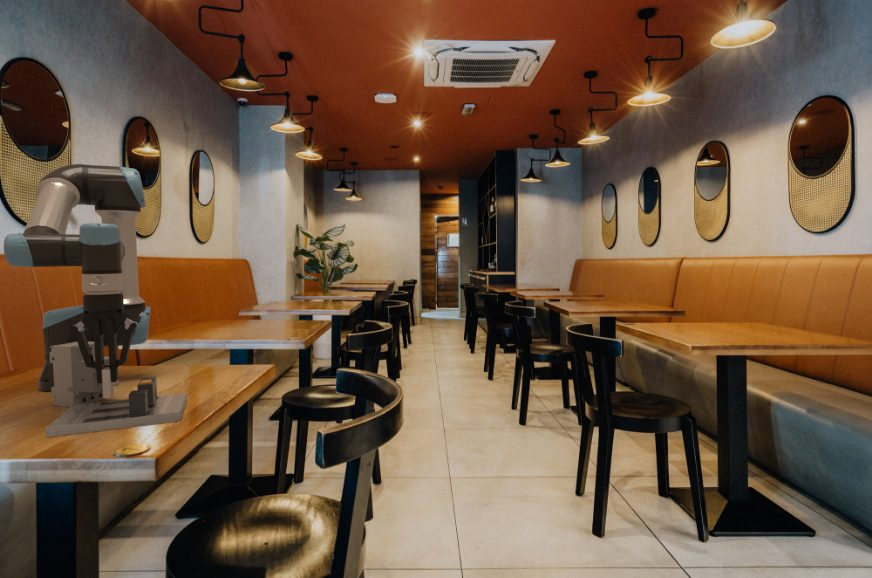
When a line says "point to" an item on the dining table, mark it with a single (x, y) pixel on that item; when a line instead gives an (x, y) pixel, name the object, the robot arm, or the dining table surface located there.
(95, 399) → the circuit breaker
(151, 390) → the toggle
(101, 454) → the dining table surface
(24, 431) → the dining table surface
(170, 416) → the breaker panel
